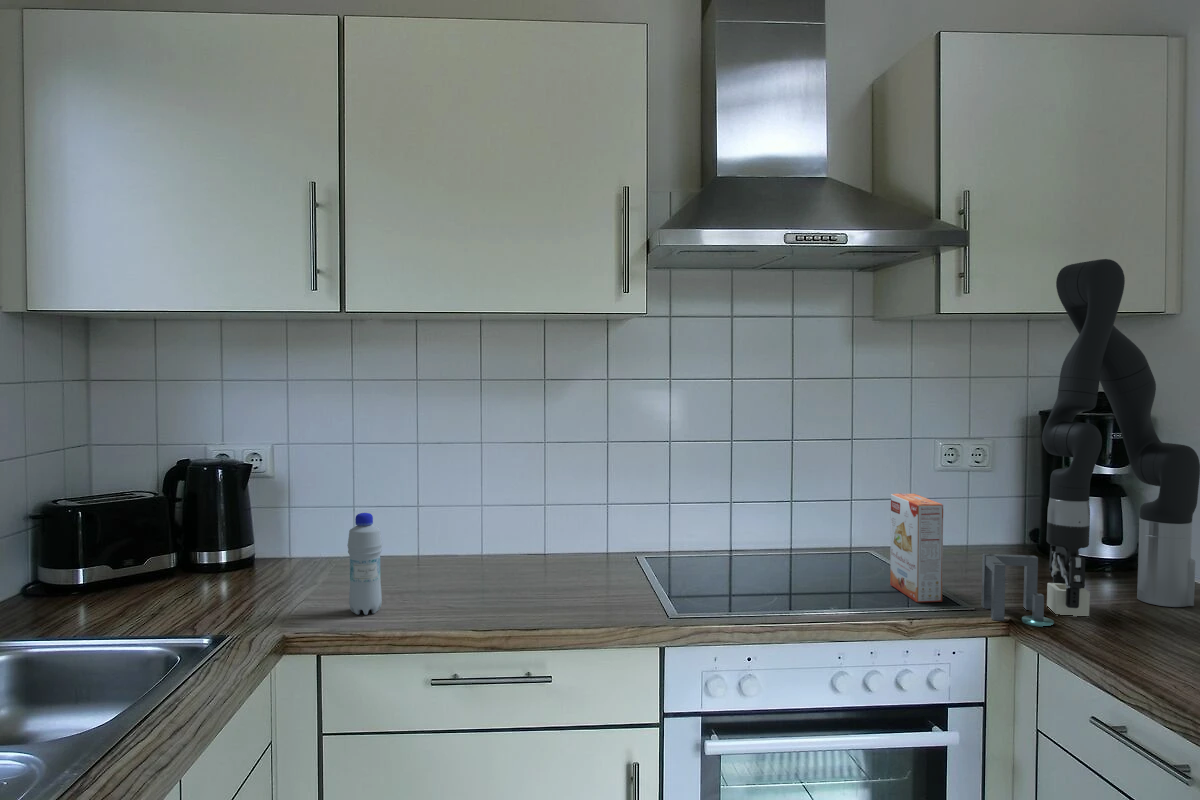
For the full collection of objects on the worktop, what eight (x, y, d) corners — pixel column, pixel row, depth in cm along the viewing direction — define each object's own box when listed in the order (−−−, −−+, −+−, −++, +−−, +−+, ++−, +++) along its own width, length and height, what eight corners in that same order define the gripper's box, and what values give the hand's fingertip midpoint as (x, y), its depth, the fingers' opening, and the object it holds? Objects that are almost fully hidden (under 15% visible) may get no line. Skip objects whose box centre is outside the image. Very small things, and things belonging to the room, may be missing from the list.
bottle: (348, 618, 171) (347, 516, 170) (348, 608, 177) (346, 510, 176) (383, 615, 173) (382, 514, 172) (382, 606, 179) (381, 509, 178)
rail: (1033, 608, 177) (1035, 555, 177) (1048, 623, 168) (1050, 567, 167) (981, 606, 179) (982, 553, 179) (993, 620, 170) (994, 564, 169)
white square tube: (1078, 608, 178) (1079, 584, 177) (1089, 617, 172) (1089, 592, 171) (1046, 606, 179) (1047, 582, 178) (1056, 615, 173) (1056, 590, 173)
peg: (1048, 619, 170) (1049, 591, 170) (1057, 627, 165) (1058, 599, 164) (1018, 617, 171) (1019, 590, 171) (1026, 626, 166) (1027, 597, 166)
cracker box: (888, 586, 195) (889, 493, 194) (914, 585, 196) (915, 492, 195) (915, 603, 181) (916, 503, 180) (943, 602, 182) (945, 503, 181)
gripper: (1101, 529, 167) (1098, 613, 167) (1077, 516, 181) (1074, 594, 181) (1059, 527, 168) (1055, 610, 169) (1037, 514, 182) (1034, 591, 183)
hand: (1065, 601), depth 175 cm, fingers open, 8 cm apart
